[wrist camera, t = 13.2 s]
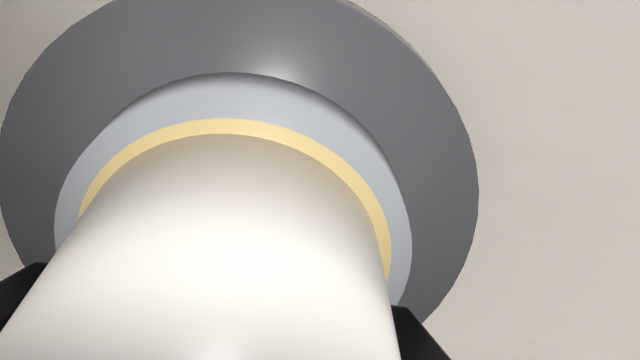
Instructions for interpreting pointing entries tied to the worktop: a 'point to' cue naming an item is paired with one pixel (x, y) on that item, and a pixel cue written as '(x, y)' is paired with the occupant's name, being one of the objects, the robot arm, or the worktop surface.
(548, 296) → the worktop surface
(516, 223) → the worktop surface
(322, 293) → the cap
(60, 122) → the seat
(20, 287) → the robot arm
